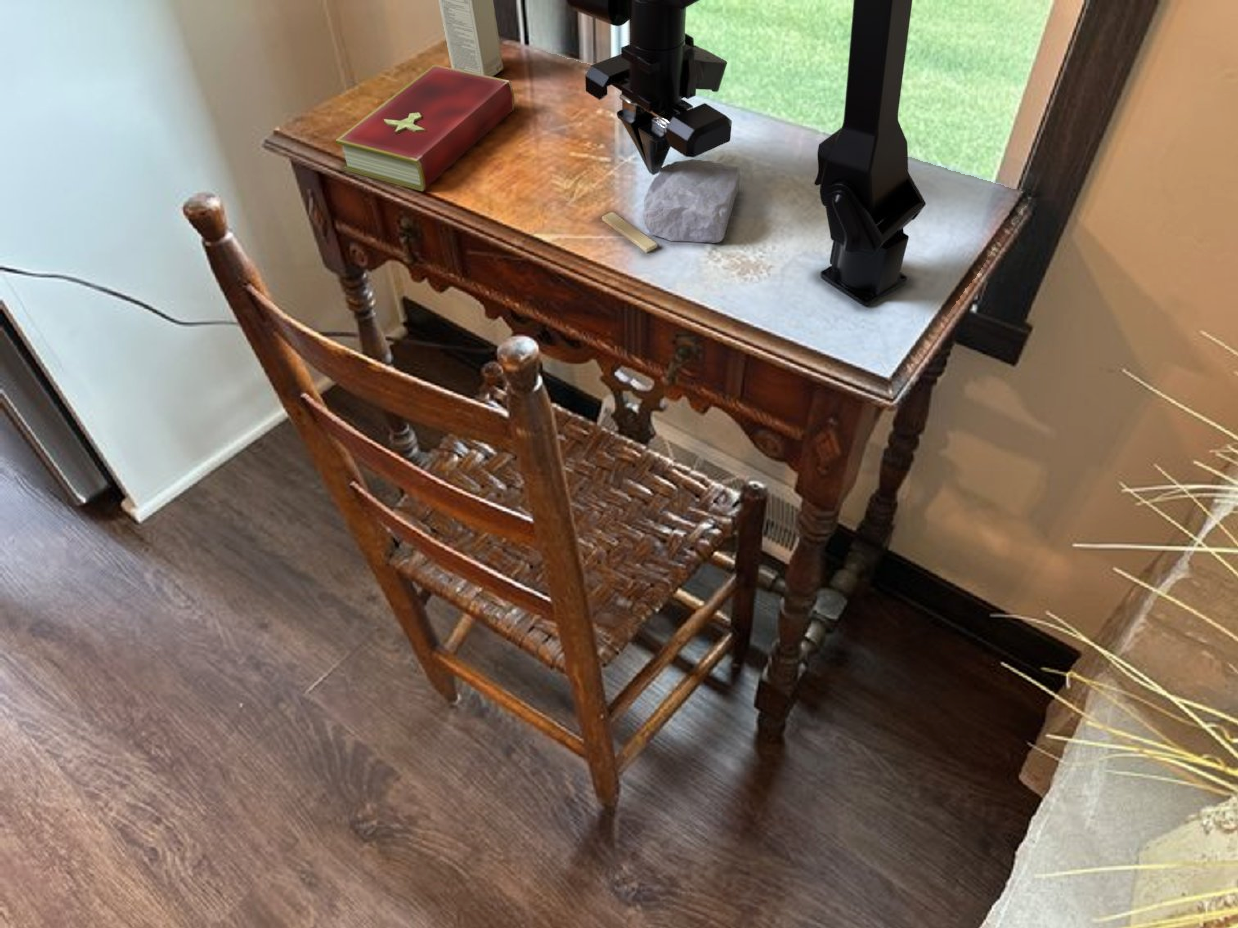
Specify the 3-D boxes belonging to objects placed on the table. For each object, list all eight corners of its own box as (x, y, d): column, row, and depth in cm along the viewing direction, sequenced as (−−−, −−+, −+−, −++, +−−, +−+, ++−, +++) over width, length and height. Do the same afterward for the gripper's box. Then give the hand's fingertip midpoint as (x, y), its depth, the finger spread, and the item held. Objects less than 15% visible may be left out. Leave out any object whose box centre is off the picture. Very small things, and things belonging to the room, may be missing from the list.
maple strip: (657, 247, 99) (657, 243, 99) (646, 252, 98) (646, 249, 98) (612, 215, 103) (612, 211, 103) (602, 220, 103) (601, 216, 102)
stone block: (641, 251, 101) (730, 245, 98) (632, 212, 98) (724, 206, 95) (662, 196, 109) (745, 189, 106) (655, 158, 106) (740, 150, 103)
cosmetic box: (504, 70, 127) (492, -23, 118) (484, 83, 125) (471, -10, 116) (469, 60, 130) (455, -32, 120) (449, 72, 127) (433, -20, 118)
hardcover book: (515, 110, 120) (512, 79, 116) (425, 192, 107) (418, 159, 104) (439, 93, 123) (433, 62, 120) (343, 170, 111) (334, 138, 108)
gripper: (777, 47, 92) (761, 183, 104) (660, -13, 102) (657, 117, 114) (693, 82, 88) (686, 219, 100) (579, 15, 97) (585, 148, 109)
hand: (654, 172), depth 106 cm, fingers closed
